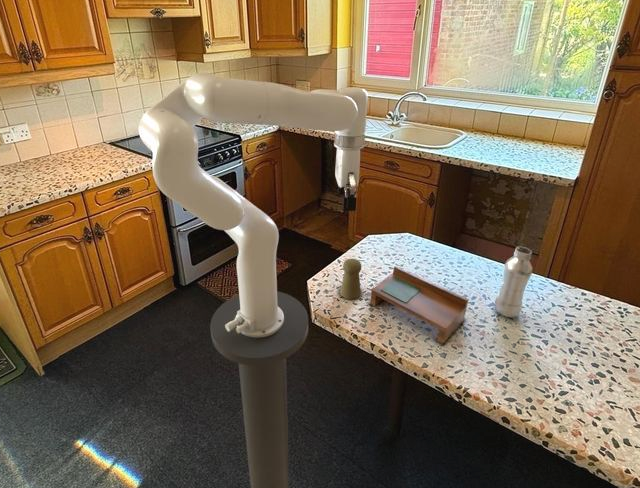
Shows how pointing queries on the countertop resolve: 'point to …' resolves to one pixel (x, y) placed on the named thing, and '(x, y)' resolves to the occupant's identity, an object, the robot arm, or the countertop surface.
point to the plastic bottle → (514, 283)
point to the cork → (351, 279)
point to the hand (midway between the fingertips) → (346, 202)
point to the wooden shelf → (422, 300)
